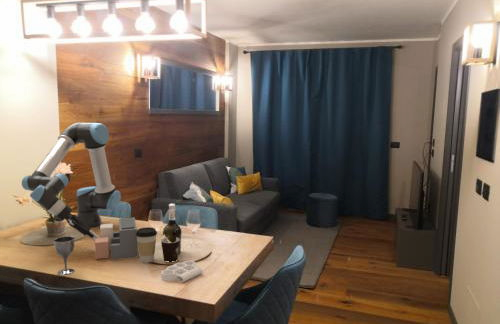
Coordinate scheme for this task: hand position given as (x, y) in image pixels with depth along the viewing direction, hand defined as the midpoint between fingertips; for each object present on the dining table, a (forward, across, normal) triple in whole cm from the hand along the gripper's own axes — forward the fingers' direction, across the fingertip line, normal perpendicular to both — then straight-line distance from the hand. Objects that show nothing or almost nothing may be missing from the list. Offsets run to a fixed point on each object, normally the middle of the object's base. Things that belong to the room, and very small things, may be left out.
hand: (98, 240), depth 204 cm
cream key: (+7, 0, -1) cm, 7 cm away
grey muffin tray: (+29, +42, +21) cm, 56 cm away
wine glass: (-5, +25, -13) cm, 28 cm away
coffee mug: (+28, +24, +21) cm, 42 cm away
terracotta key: (+5, +10, -2) cm, 11 cm away
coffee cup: (+20, +22, +12) cm, 32 cm away
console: (+12, +5, +5) cm, 14 cm away
